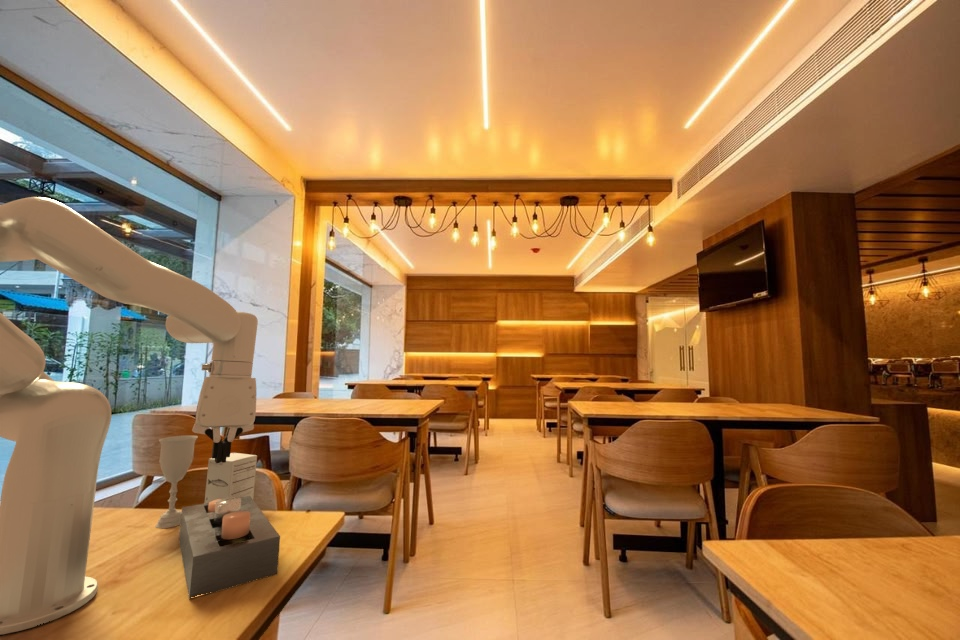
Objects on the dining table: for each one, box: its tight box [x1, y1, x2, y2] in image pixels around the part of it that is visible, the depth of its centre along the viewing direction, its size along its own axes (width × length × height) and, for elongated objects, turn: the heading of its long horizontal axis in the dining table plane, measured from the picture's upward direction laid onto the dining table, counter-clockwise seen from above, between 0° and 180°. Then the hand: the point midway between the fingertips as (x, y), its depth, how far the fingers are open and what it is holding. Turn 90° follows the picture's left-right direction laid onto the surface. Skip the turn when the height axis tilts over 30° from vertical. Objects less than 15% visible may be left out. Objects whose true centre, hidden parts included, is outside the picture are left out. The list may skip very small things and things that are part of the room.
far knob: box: [208, 499, 220, 513], centre depth 80 cm, size 4×4×3 cm
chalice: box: [155, 434, 199, 529], centre depth 88 cm, size 7×7×18 cm
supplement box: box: [203, 452, 258, 504], centre depth 95 cm, size 7×7×13 cm
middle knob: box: [214, 497, 241, 522], centre depth 74 cm, size 4×4×3 cm
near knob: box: [221, 511, 251, 540], centre depth 67 cm, size 4×4×3 cm
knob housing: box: [178, 496, 281, 599], centre depth 73 cm, size 12×26×6 cm, turn 40°
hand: (220, 461), depth 81 cm, fingers closed
